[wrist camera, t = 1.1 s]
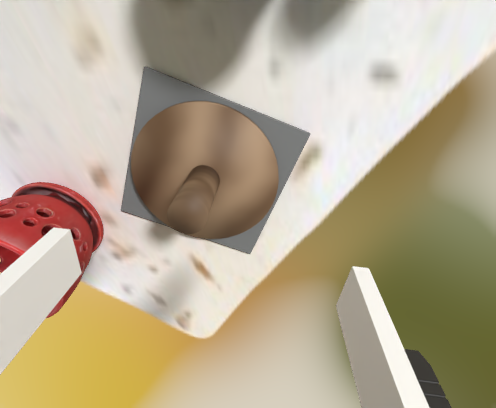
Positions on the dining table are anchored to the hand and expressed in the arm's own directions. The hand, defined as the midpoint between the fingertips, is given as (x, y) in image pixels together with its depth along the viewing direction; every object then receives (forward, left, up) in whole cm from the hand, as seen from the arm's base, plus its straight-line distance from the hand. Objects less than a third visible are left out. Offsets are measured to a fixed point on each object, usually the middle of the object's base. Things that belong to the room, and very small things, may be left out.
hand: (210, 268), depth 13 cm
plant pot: (-19, -19, -21) cm, 34 cm away
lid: (-3, -6, -20) cm, 21 cm away
